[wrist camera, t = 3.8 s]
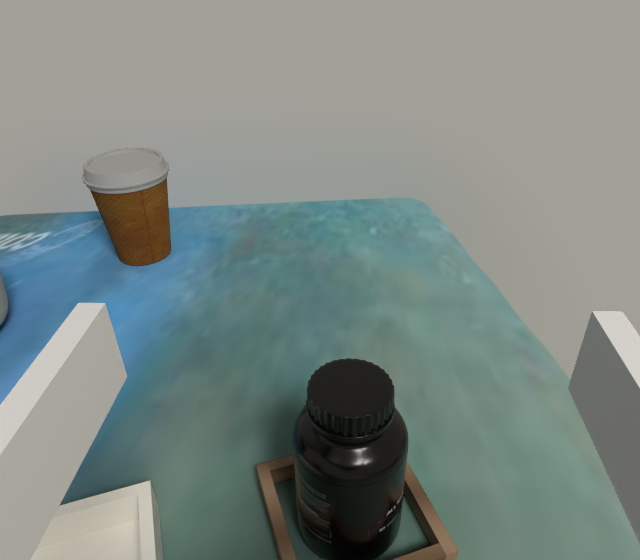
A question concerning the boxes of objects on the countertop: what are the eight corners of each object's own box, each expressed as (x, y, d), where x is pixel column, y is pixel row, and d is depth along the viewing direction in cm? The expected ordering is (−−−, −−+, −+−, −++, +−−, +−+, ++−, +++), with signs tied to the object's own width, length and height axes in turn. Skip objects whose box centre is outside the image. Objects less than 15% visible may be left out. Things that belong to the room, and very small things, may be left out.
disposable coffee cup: (113, 238, 70) (89, 149, 63) (186, 232, 71) (170, 143, 64) (98, 276, 62) (69, 179, 55) (181, 269, 63) (162, 172, 56)
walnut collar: (257, 478, 38) (255, 465, 37) (386, 440, 41) (387, 427, 40) (297, 622, 30) (296, 609, 29) (455, 564, 33) (458, 550, 32)
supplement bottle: (413, 560, 33) (430, 427, 26) (304, 578, 32) (294, 445, 26) (386, 468, 39) (394, 340, 32) (292, 481, 38) (281, 353, 31)
